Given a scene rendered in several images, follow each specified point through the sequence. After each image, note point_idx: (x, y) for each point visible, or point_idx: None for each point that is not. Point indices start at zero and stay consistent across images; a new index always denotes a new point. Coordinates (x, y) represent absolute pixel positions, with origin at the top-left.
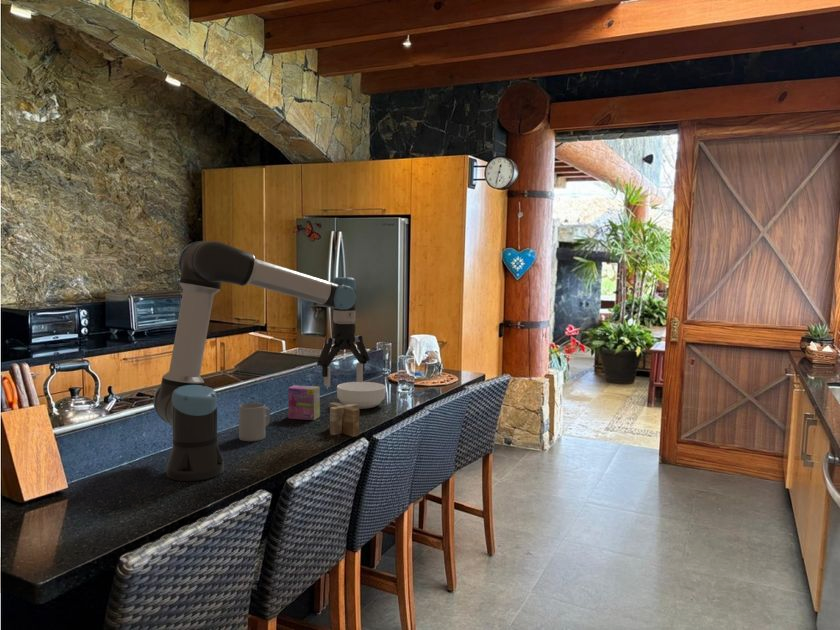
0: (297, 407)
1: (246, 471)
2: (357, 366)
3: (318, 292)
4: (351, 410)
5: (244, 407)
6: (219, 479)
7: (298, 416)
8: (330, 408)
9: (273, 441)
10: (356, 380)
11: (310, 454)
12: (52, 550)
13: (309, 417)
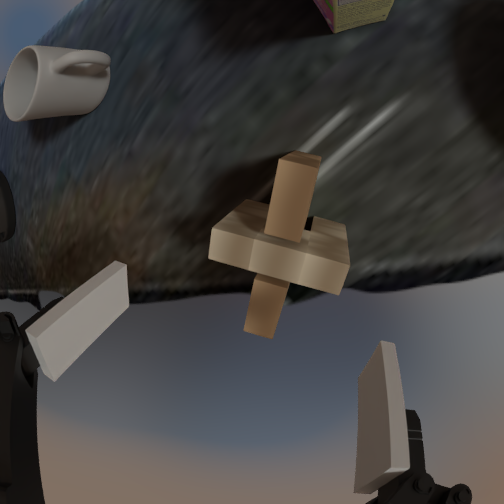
0: None
1: (30, 253)
2: (383, 445)
3: None
4: (246, 319)
5: (29, 53)
6: (11, 248)
7: None
8: (213, 228)
9: (98, 143)
10: (380, 345)
11: None
12: None
13: (324, 15)
